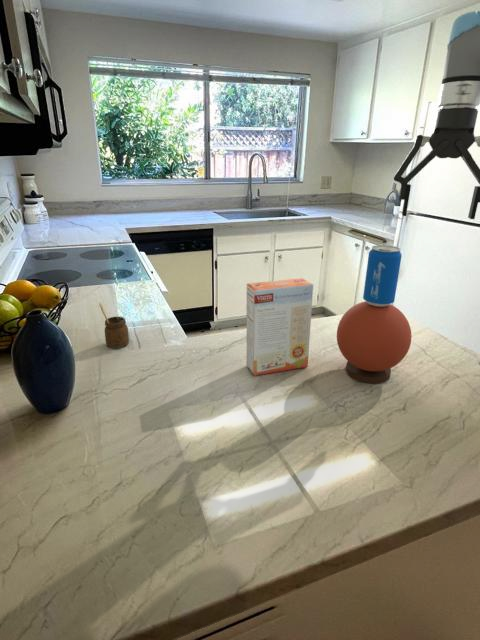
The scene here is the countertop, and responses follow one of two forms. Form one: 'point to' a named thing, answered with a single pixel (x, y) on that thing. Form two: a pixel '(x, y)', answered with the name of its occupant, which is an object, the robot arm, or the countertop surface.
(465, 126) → the robot arm
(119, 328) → the brown jar with stick
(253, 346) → the cracker box
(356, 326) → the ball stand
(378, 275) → the beverage can
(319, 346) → the countertop surface
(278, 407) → the countertop surface
